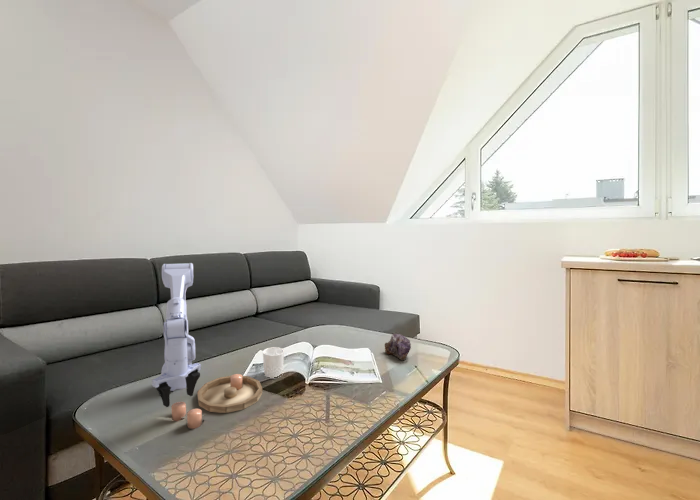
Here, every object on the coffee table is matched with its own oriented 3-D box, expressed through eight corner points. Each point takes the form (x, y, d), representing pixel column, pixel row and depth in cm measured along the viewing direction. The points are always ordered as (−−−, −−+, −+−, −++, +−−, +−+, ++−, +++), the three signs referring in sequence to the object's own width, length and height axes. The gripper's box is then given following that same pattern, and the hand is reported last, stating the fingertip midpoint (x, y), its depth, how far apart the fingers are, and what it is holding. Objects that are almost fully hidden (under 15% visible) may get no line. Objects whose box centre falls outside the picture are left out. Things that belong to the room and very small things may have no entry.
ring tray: (186, 412, 118) (185, 403, 118) (214, 380, 139) (214, 373, 138) (249, 417, 117) (249, 408, 117) (268, 384, 137) (268, 377, 137)
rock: (396, 364, 160) (415, 359, 165) (399, 347, 158) (417, 342, 163) (381, 350, 170) (399, 346, 175) (383, 333, 167) (401, 329, 172)
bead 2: (184, 428, 110) (184, 415, 110) (191, 420, 114) (191, 408, 114) (198, 429, 110) (197, 416, 110) (204, 421, 114) (204, 409, 114)
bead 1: (169, 420, 114) (168, 408, 113) (176, 413, 118) (175, 401, 117) (181, 421, 114) (181, 409, 113) (188, 414, 118) (188, 402, 117)
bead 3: (228, 389, 131) (228, 378, 131) (233, 384, 135) (233, 373, 135) (240, 390, 131) (239, 379, 130) (244, 384, 135) (244, 374, 134)
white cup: (279, 382, 139) (279, 356, 138) (259, 379, 141) (259, 354, 139) (286, 372, 147) (287, 348, 145) (267, 370, 148) (268, 346, 147)
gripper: (160, 370, 105) (162, 415, 107) (206, 353, 117) (207, 394, 119) (147, 363, 109) (149, 407, 111) (193, 347, 121) (194, 387, 123)
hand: (178, 400), depth 115 cm, fingers open, 7 cm apart
